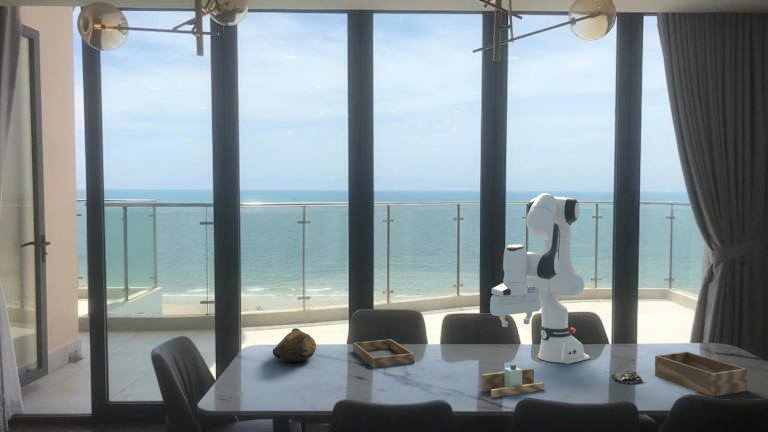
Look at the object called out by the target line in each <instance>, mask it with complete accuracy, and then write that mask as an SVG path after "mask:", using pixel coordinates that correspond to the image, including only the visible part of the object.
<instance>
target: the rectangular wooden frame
mask: <svg viewBox="0 0 768 432" xmlns="http://www.w3.org/2000/svg"><path fill="white" fill-rule="evenodd" d="M385 349H386V350H388V349H390V350H392V351H394V352H395V353H397V354H393V355H385V356H384V355H383V356H373V355H372V354H371V353H369V351H378V350H379V351H380V350H385ZM352 352H353V353H354V354H355V355H356V356H358V357H359V358H360V359H362V360H363V361H364V362H366V363H367V364H368V365H369V366H371V367H372V368H381V367H391V366H399V365H406V364H407V365H408V364H415V353H414V352H413V351H411V350H409V349H408V348H406V347H404V346H403V345H401V344H400V343H398V342H397V341H395V340H393V339H392V338H391V339H390V338H389V339H381V340H380V339H379V340H371V341H370V340H369V341H362V342H361V341H360V342H353V343H352Z"/></svg>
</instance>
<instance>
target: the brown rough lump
mask: <svg viewBox="0 0 768 432" xmlns="http://www.w3.org/2000/svg"><path fill="white" fill-rule="evenodd" d="M284 336H285V337H283V339H282V340H281V341H280V342H279V343H277V345H276V346H275V347H274V348H273V349H272V354H273V356H274V357H275V358H277V359H283V361H284V362H287V363H294V362H303V361H305V360H308V359H310V358H311V357H313V355H314V354H315V352H316V350H317V344H316V341H315V340H314V338H313V337H312V336H311V335H310V334H309V333H306V332H304V331H302V330H301V329H299V328H297V327H296V328H295V327H294V328H292V330H291V331H290V332H289V333H287V334H286V335H284Z"/></svg>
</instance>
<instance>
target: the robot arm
mask: <svg viewBox="0 0 768 432" xmlns="http://www.w3.org/2000/svg"><path fill="white" fill-rule="evenodd" d="M526 212H527V215H526V220H525V223H526V226H527V229H528V230H529V232H530V233H531V234H533V235H534V236H536V237H538V238H541V239H544V243H543V251H527V247H526V245H524V244H522V243H514V244H509V245H507V246H505V248H504V252H503V262H502V263H503V265H502V269H503V272H504V275H503V276H504V277H503V282H502V283H500V284H498V285H497V286H494V287H492V288H491V294H492V295H491V297H490V301H489V303H490V304H489V305H490V306H489V312H490V314H491V315H493V316H495V317H499V319H500V321H501V326H502V327H503V328H507V327H509V322H508V321H506V316H510V315H517V314H525V315H526V316H525V318H523V324H524V325H530V321H531V318H532V316H533V313H534V312H540V310H541V325H540V338H541V339H540V346H539V351H538V354H537V358H538V359H540V360H542V361H545V362H550V363H559V364H573V363H577V362H581V361H582V362H583V361H585V360H590V356H589V354H587V353H585V351H584V346H583V344H582V342H581V341H579V340H578V339H577V338H576V337H575V336H573V335H572V333H573V334H575V333H576V331H577V329H576V328H575V327H569V312H568V309H567V307H566V306H565V305H564V304H562V303H561V302H560V301H559V299H558V297H564V298H574V297H579V296H580V295H581V294H582V293H583V292H584V289H585V280H584V279H583V276H582V275H581V274H580V273H579V272H578V271H577V270H576V269H575V267H574V265H573V261H572V260H571V259H572V258H571V232H572V231H571V226H572V224H573V223H575V222H576V221H577V220H578V219H579V216H580V214H581V213H580V212H581V207H580V204H579V201H578V200H577V199H575V198H573V197H562V196H561V197H560V196H554V195H552V194H550V193H541V194H540V195H538V196H537V197H535V198H532V199H531V200H530V201H529V202H528V204H527V208H526Z"/></svg>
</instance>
